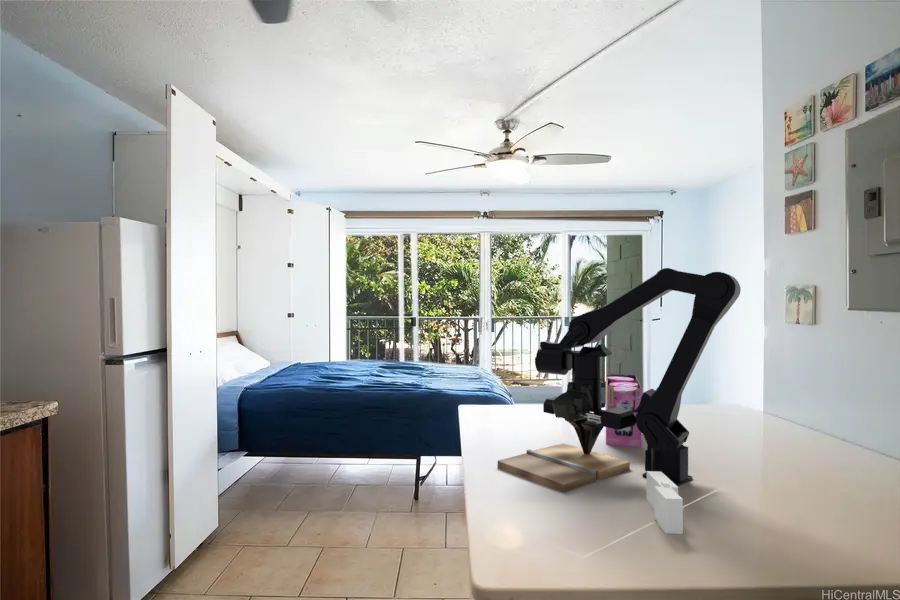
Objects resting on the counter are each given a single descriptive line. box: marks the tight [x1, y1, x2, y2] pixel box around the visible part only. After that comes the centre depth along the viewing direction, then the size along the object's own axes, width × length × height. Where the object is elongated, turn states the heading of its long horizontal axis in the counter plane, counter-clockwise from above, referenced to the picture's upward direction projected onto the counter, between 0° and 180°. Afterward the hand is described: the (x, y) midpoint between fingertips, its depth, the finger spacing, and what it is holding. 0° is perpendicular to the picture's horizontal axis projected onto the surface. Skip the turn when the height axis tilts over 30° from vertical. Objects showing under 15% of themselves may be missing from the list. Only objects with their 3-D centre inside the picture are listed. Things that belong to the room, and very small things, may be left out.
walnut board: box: [497, 448, 597, 493], centre depth 92 cm, size 16×9×2 cm, turn 38°
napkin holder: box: [646, 471, 684, 535], centre depth 74 cm, size 15×11×6 cm
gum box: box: [605, 373, 643, 449], centre depth 121 cm, size 24×8×14 cm, turn 162°
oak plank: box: [532, 443, 631, 481], centre depth 98 cm, size 16×10×2 cm, turn 38°
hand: (587, 453), depth 100 cm, fingers closed, pressing on oak plank
